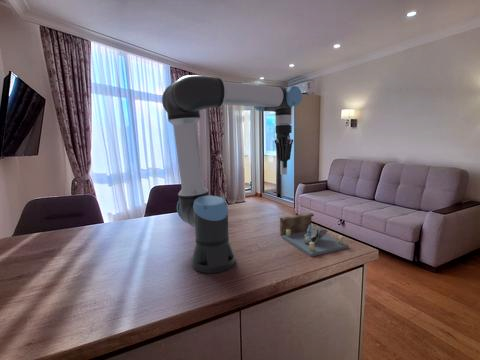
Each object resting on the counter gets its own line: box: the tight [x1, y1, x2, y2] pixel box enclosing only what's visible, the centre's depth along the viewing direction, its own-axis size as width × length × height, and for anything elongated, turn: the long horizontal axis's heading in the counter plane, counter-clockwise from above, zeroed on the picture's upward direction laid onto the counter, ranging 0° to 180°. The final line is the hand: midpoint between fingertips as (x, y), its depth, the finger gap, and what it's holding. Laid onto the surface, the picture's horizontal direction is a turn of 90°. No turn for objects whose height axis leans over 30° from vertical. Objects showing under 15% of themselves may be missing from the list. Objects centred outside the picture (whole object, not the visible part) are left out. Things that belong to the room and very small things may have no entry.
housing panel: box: [279, 212, 314, 237], centre depth 114 cm, size 16×3×8 cm, turn 112°
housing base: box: [281, 223, 349, 258], centre depth 104 cm, size 18×20×4 cm
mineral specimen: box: [304, 223, 328, 244], centre depth 102 cm, size 10×8×10 cm
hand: (283, 174), depth 121 cm, fingers closed
